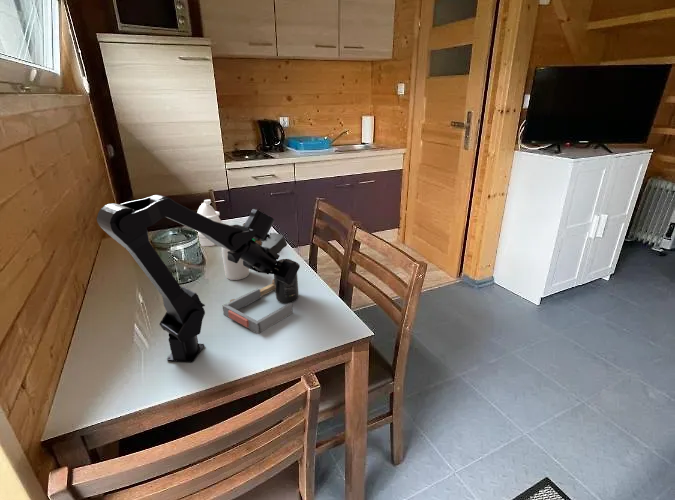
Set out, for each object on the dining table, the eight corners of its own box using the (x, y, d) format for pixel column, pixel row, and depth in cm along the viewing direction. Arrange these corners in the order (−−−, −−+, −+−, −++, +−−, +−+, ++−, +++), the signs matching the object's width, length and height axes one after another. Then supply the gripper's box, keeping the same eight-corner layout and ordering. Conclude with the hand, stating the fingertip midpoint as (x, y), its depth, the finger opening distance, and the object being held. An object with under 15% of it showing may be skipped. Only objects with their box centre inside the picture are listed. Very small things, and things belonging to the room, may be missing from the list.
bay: (256, 334, 97) (254, 325, 95) (221, 315, 106) (220, 306, 104) (292, 313, 106) (292, 303, 105) (258, 297, 115) (257, 288, 114)
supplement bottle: (302, 293, 116) (299, 258, 111) (293, 305, 110) (291, 267, 105) (281, 291, 118) (278, 256, 113) (272, 302, 112) (268, 265, 107)
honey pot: (232, 238, 163) (226, 197, 156) (209, 248, 153) (201, 205, 146) (212, 233, 169) (206, 194, 163) (188, 242, 159) (180, 201, 153)
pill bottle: (225, 282, 125) (219, 240, 119) (225, 272, 132) (219, 231, 126) (250, 278, 126) (244, 237, 121) (248, 269, 134) (243, 229, 128)
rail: (233, 310, 108) (232, 303, 107) (229, 308, 109) (228, 301, 108) (281, 286, 120) (280, 280, 120) (276, 284, 122) (275, 278, 121)
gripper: (292, 234, 96) (322, 260, 108) (246, 221, 107) (278, 245, 119) (271, 273, 93) (305, 294, 105) (226, 255, 104) (261, 276, 116)
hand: (287, 276), depth 111 cm, fingers closed on supplement bottle, 7 cm apart
